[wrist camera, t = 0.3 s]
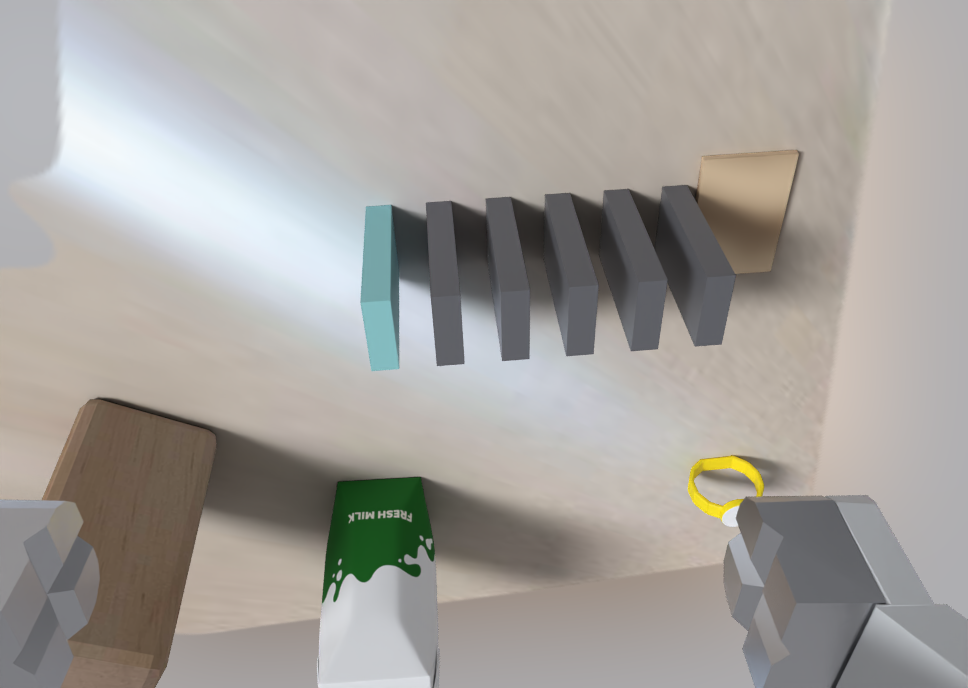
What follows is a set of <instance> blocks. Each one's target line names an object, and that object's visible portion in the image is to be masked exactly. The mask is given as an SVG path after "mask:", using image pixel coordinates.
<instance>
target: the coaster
mask: <svg viewBox="0 0 968 688" xmlns="http://www.w3.org/2000/svg"><path fill="white" fill-rule="evenodd" d="M798 156H799V153H798V152H797V151H796V150H788V151H773V152H758V153H743V154H728V155H713V156H702V161H701V168H700V174H699V180H698V187H697V193H696V200H695V201H696V202H697V204H698V206H699V208H700V210H701V212H702V214H703V215H704V217H705V219H706V221H707V223H708V225H709V226H710V228H711V230H712V232H713V234H714V236H715V238H716V239H717V241H718V243H719V245H720V247H721V249H722V250H723V252H724V254H725V256H726V258H727V260H728V262H729V263H730V265H731V267H732V269H733V271H734V273H735V274H742V273H755V272H769V271H771V268H772V264H773V260H774V256H775V252H776V247H777V243H778V239H779V235H780V231H781V227H782V222H783V218H784V214H785V210H786V206H787V202H788V197H789V193H790V189H791V185H792V181H793V177H794V173H795V168H796V164H797V160H798Z"/></svg>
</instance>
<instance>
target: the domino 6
mask: <svg viewBox="0 0 968 688" xmlns="http://www.w3.org/2000/svg"><path fill="white" fill-rule="evenodd" d="M655 252H656V254H657V256H658V259H659V261H660V263H661V266H662V268H663V270H664V273H665V275H666V277H667V280H668V281H667V282H668V285H669V287H670V289H671V292H672V294H673V296H674V299H675V301H676V303H677V306H678V308H679V310H680V313H681V315H682V318H683V320H684V322H685V325H686V327H687V329H688V332H689V334H690V336H691V339H692V341H693V343H694V346H707V345H720V344H722V340H723V335H724V330H725V326H726V321H727V316H728V311H729V306H730V301H731V297H732V292H733V287H734V282H735V277H736V274H735V273H734V271H733V269H732V267H731V265H730V263H729V262H728V260H727V258H726V256H725V254H724V252H723V250H722V249H721V247H720V245H719V243H718V241H717V239H716V238H715V236H714V234H713V232H712V230H711V228H710V226H709V225H708V223H707V221H706V219H705V217H704V215H703V214H702V212H701V210H700V208H699V206H698V204H697V202H696V201H695V199H694V197H693V195H692V193H691V191H690V190H689V188H688V186H687V185H679V186H665V187H662V194H661V202H660V210H659V218H658V226H657V234H656V242H655Z"/></svg>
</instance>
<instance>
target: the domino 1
mask: <svg viewBox="0 0 968 688" xmlns="http://www.w3.org/2000/svg"><path fill="white" fill-rule="evenodd" d="M361 308H362V315H363V321H364V327H365V333H366V339H367V346H368V352H369V358H370V364H371V370H372V371H378V370H391V369H399V266H398V257H397V249H396V240H395V232H394V224H393V215H392V207H391V205H384V206H369V207H366V215H365V233H364V251H363V268H362V286H361Z"/></svg>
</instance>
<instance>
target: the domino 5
mask: <svg viewBox="0 0 968 688" xmlns="http://www.w3.org/2000/svg"><path fill="white" fill-rule="evenodd" d="M599 257H600V260H601V263H602V266H603V269H604V272H605V275H606V278H607V281H608V284H609V287H610V290H611V293H612V296H613V299H614V302H615V305H616V308H617V311H618V314H619V317H620V320H621V323H622V326H623V329H624V332H625V335H626V338H627V341H628V344H629V347H630V350H631V351H640V350H653V349H658V345H659V338H660V331H661V324H662V317H663V310H664V302H665V295H666V288H667V281H668V280H667V277H666V275H665V273H664V270H663V268H662V266H661V263H660V261H659V259H658V256H657V254H656V252H655V249H654V247H653V245H652V242H651V240H650V238H649V235H648V233H647V231H646V228H645V226H644V224H643V221H642V219H641V217H640V214H639V212H638V210H637V207H636V205H635V203H634V200H633V198H632V196H631V193H630V191H629V189H620V190H605V191H604V196H603V209H602V223H601V237H600V250H599Z"/></svg>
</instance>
